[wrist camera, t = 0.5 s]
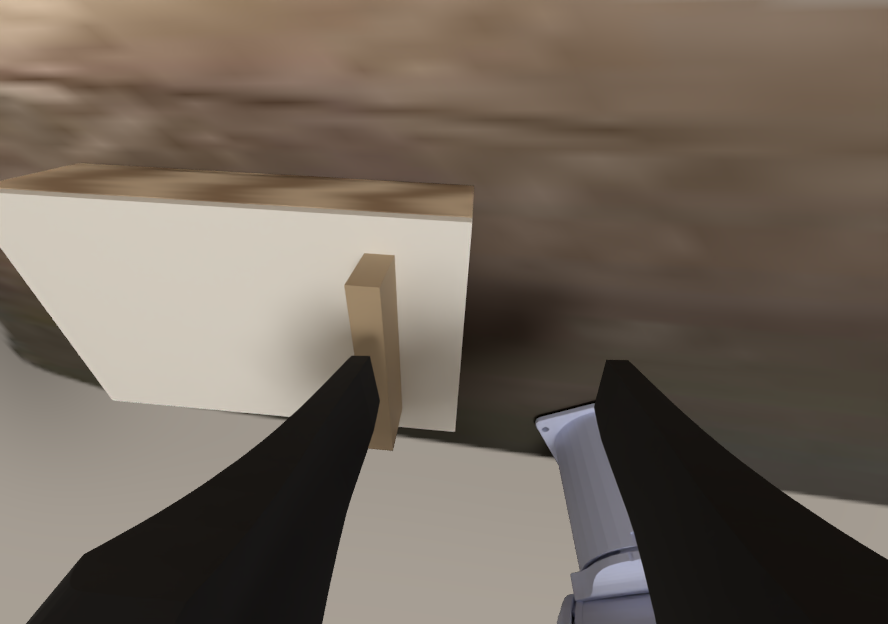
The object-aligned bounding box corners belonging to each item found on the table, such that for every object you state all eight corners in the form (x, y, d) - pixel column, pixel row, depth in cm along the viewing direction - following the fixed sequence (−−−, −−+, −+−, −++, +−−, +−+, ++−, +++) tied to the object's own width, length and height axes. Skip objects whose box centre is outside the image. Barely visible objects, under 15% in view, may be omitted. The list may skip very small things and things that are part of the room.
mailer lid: (472, 217, 13) (470, 251, 11) (455, 424, 20) (452, 474, 17) (-27, 187, 14) (-134, 211, 12) (119, 393, 21) (71, 437, 18)
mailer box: (473, 185, 17) (472, 216, 13) (459, 369, 24) (455, 423, 20) (78, 162, 18) (-24, 186, 14) (174, 345, 25) (121, 392, 21)
